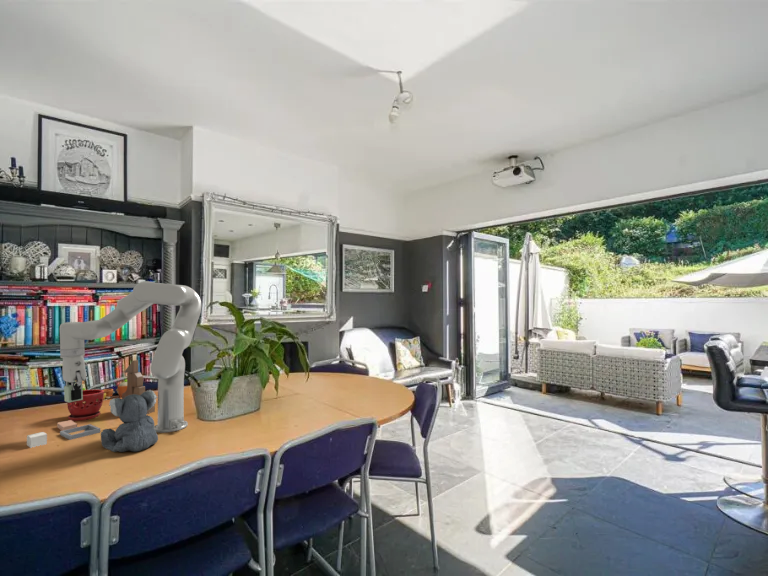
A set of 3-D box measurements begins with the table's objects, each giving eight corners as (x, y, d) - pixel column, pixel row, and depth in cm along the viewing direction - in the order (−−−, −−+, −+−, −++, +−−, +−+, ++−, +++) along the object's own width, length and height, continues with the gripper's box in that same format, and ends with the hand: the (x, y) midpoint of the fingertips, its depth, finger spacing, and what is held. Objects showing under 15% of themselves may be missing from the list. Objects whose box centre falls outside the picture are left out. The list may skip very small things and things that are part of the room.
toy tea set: (132, 391, 224) (132, 375, 224) (139, 396, 213) (139, 378, 214) (75, 400, 205) (75, 382, 205) (80, 406, 194) (80, 387, 195)
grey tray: (100, 433, 154) (100, 428, 154) (69, 441, 145) (69, 436, 145) (90, 428, 159) (90, 424, 159) (59, 436, 151) (59, 431, 151)
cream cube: (46, 446, 141) (47, 434, 141) (30, 450, 137) (30, 437, 137) (42, 443, 143) (42, 431, 143) (26, 447, 140) (26, 435, 140)
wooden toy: (155, 411, 183) (156, 359, 183) (142, 415, 176) (143, 361, 177) (132, 408, 188) (132, 357, 188) (119, 412, 182) (119, 359, 182)
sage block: (82, 399, 153) (82, 384, 153) (68, 402, 149) (68, 387, 149) (78, 398, 155) (77, 383, 155) (64, 401, 152) (64, 386, 152)
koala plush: (150, 434, 153) (151, 384, 153) (169, 444, 141) (169, 391, 142) (98, 447, 139) (98, 393, 140) (114, 460, 128) (114, 401, 128)
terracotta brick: (77, 431, 157) (77, 424, 157) (63, 434, 154) (63, 427, 154) (70, 427, 163) (70, 419, 163) (57, 430, 159) (57, 422, 159)
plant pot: (83, 423, 166) (83, 396, 166) (59, 422, 168) (59, 394, 169) (110, 414, 179) (110, 388, 179) (87, 413, 181) (87, 387, 182)
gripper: (92, 352, 151) (93, 399, 151) (75, 350, 160) (77, 394, 160) (69, 355, 145) (70, 404, 145) (53, 353, 154) (54, 398, 154)
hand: (73, 398), depth 152 cm, fingers closed on sage block, 4 cm apart
